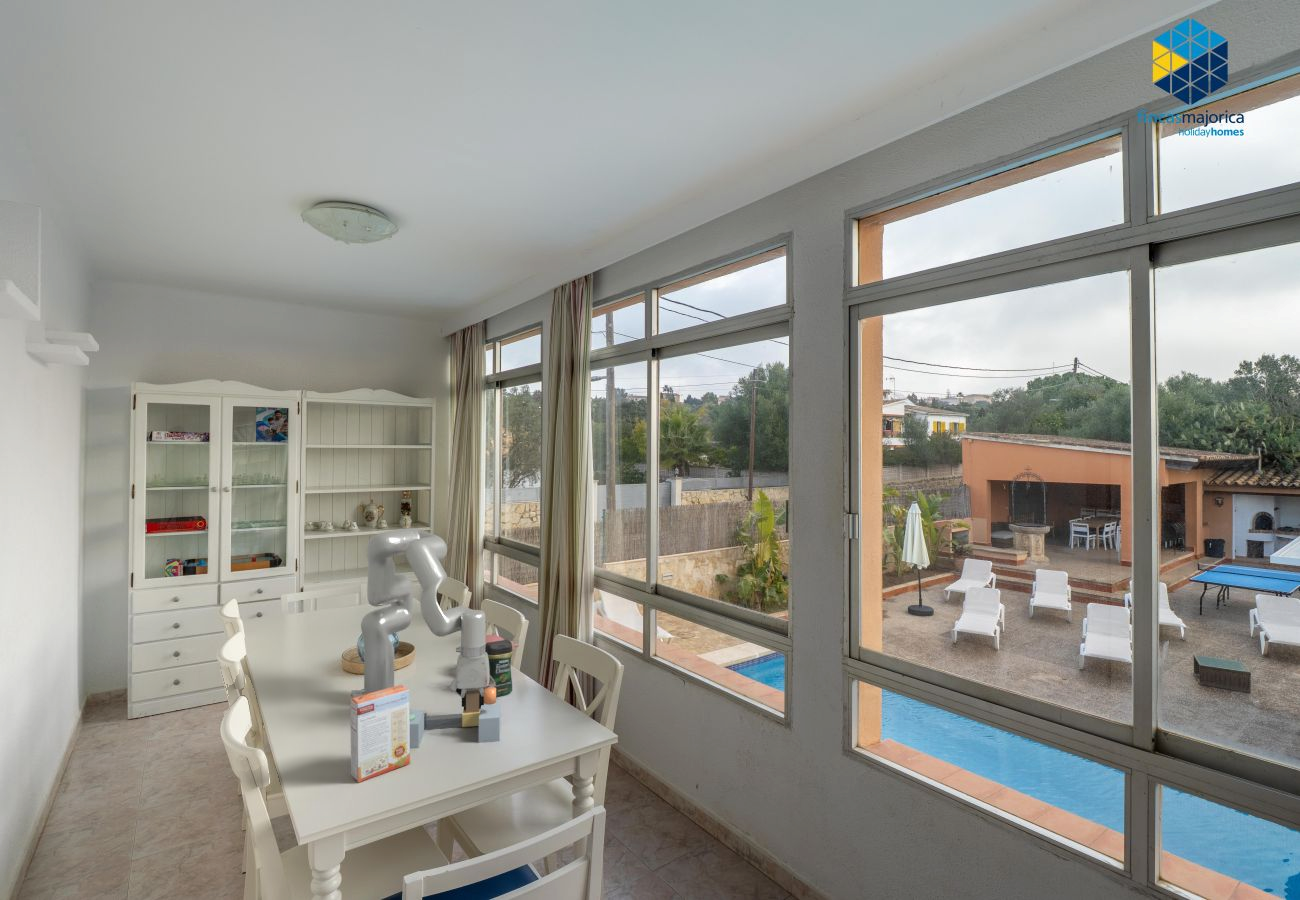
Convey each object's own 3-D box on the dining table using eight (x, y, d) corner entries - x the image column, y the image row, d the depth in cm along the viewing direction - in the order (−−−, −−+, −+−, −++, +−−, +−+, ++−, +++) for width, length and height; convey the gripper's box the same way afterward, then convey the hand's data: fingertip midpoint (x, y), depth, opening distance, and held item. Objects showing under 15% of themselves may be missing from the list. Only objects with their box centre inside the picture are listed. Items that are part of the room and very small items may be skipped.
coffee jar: (488, 699, 215) (489, 646, 215) (481, 692, 222) (481, 640, 222) (515, 693, 220) (515, 641, 220) (507, 686, 227) (507, 636, 227)
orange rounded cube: (483, 705, 186) (483, 691, 186) (484, 700, 190) (484, 687, 190) (495, 704, 187) (495, 690, 187) (496, 699, 191) (496, 686, 191)
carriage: (462, 726, 193) (462, 695, 193) (463, 719, 198) (464, 689, 198) (482, 725, 194) (482, 694, 194) (483, 718, 199) (483, 687, 199)
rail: (420, 730, 192) (420, 717, 192) (422, 726, 195) (422, 713, 195) (488, 724, 196) (488, 712, 196) (489, 720, 199) (489, 708, 199)
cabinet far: (478, 742, 184) (478, 719, 184) (481, 727, 194) (481, 705, 194) (499, 740, 185) (499, 717, 185) (500, 726, 195) (500, 703, 195)
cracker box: (401, 756, 176) (401, 683, 175) (410, 764, 171) (410, 689, 171) (349, 774, 166) (349, 696, 166) (357, 783, 161) (357, 703, 161)
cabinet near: (393, 749, 179) (393, 722, 179) (400, 734, 189) (400, 707, 189) (418, 747, 181) (418, 720, 181) (424, 732, 191) (424, 706, 191)
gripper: (444, 655, 191) (443, 715, 191) (499, 652, 194) (499, 711, 194) (447, 648, 198) (446, 705, 198) (500, 645, 201) (500, 701, 202)
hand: (473, 707), depth 196 cm, fingers closed on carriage, 4 cm apart
